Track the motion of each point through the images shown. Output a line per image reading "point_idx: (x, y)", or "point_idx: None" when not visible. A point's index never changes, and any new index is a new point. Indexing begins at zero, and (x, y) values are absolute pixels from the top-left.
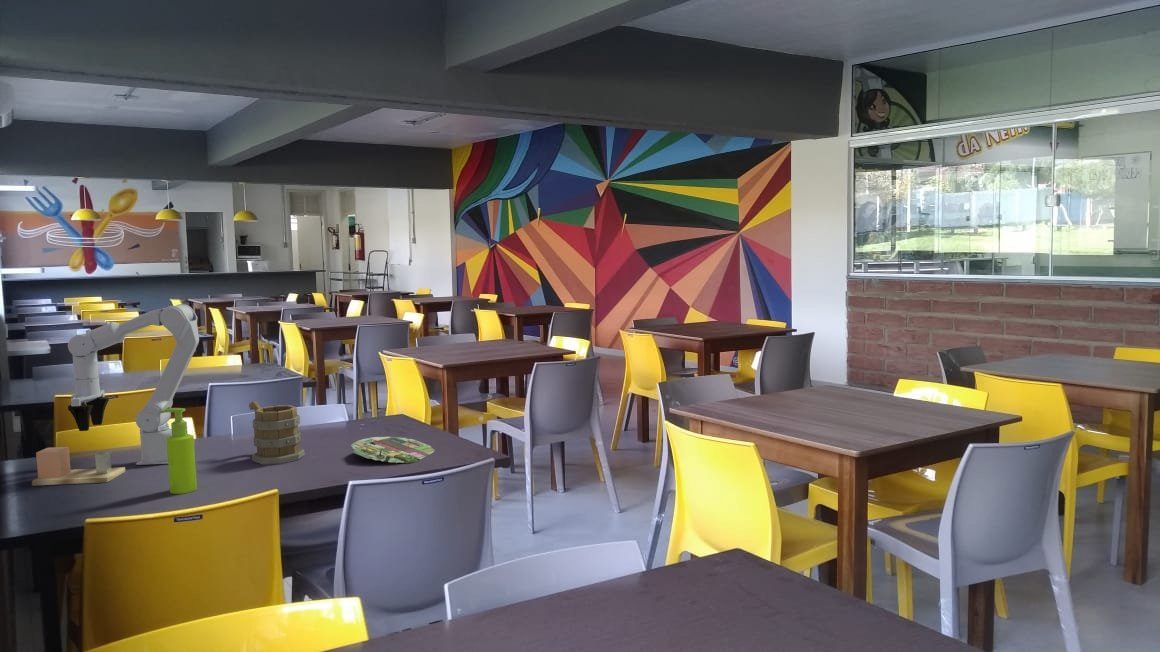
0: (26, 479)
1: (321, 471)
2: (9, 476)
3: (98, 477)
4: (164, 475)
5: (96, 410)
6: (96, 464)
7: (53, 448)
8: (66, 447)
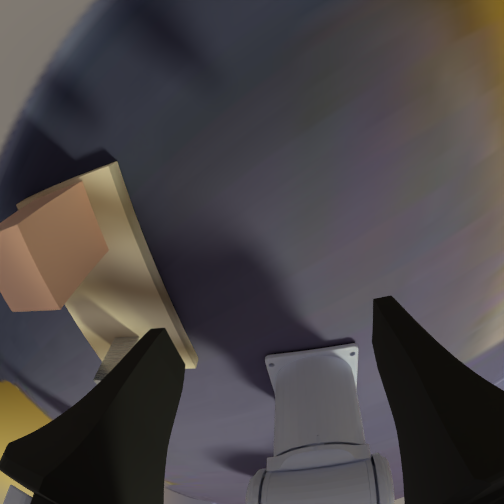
0: (60, 110)
1: (241, 497)
2: (88, 7)
3: (98, 352)
4: (188, 421)
5: (410, 425)
6: (105, 359)
7: (21, 263)
8: (51, 306)
